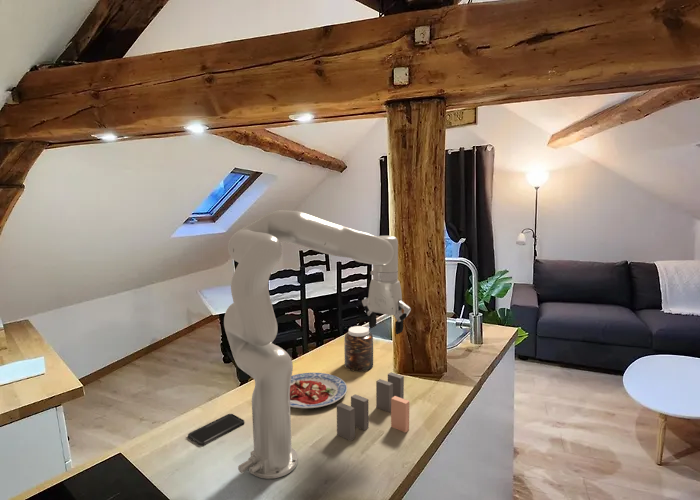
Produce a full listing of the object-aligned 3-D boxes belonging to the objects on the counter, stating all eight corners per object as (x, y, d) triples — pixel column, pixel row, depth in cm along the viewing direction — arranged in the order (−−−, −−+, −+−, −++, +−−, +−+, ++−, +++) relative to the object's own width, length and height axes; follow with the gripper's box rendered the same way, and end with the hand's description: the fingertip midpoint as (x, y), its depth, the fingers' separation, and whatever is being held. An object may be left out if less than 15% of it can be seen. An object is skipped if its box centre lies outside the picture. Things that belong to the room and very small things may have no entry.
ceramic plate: (258, 407, 139) (257, 398, 139) (291, 374, 164) (291, 367, 163) (332, 419, 132) (332, 410, 131) (356, 382, 156) (356, 375, 156)
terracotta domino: (405, 432, 124) (405, 403, 122) (391, 426, 127) (391, 398, 125) (409, 429, 125) (409, 400, 124) (394, 423, 128) (394, 395, 127)
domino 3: (389, 412, 135) (389, 385, 134) (376, 407, 138) (376, 381, 137) (392, 409, 136) (392, 383, 135) (379, 405, 139) (379, 378, 138)
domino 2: (364, 430, 125) (364, 401, 124) (351, 424, 128) (350, 396, 127) (368, 427, 126) (368, 399, 125) (355, 422, 129) (355, 394, 128)
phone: (246, 421, 129) (201, 444, 118) (246, 424, 129) (201, 448, 118) (230, 412, 134) (186, 434, 122) (230, 416, 134) (186, 437, 123)
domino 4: (400, 404, 140) (400, 378, 139) (387, 399, 143) (387, 374, 142) (403, 401, 141) (403, 376, 140) (390, 397, 144) (391, 372, 143)
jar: (379, 367, 169) (379, 330, 166) (354, 374, 162) (354, 336, 160) (362, 357, 179) (362, 323, 176) (338, 363, 172) (338, 328, 170)
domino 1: (350, 441, 120) (350, 411, 119) (337, 434, 123) (336, 405, 122) (354, 437, 121) (354, 408, 120) (341, 431, 124) (341, 402, 123)
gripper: (355, 275, 133) (356, 327, 136) (403, 282, 123) (403, 339, 125) (369, 271, 139) (369, 321, 142) (416, 277, 129) (416, 331, 131)
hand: (385, 329), depth 133 cm, fingers open, 9 cm apart
